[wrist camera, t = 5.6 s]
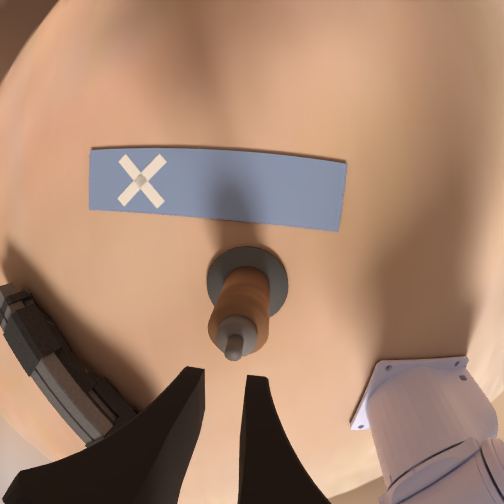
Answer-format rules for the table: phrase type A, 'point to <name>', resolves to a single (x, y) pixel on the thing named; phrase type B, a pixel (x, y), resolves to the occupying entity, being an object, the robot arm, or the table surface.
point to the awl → (241, 313)
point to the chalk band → (219, 185)
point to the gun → (60, 370)
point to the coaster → (254, 259)
